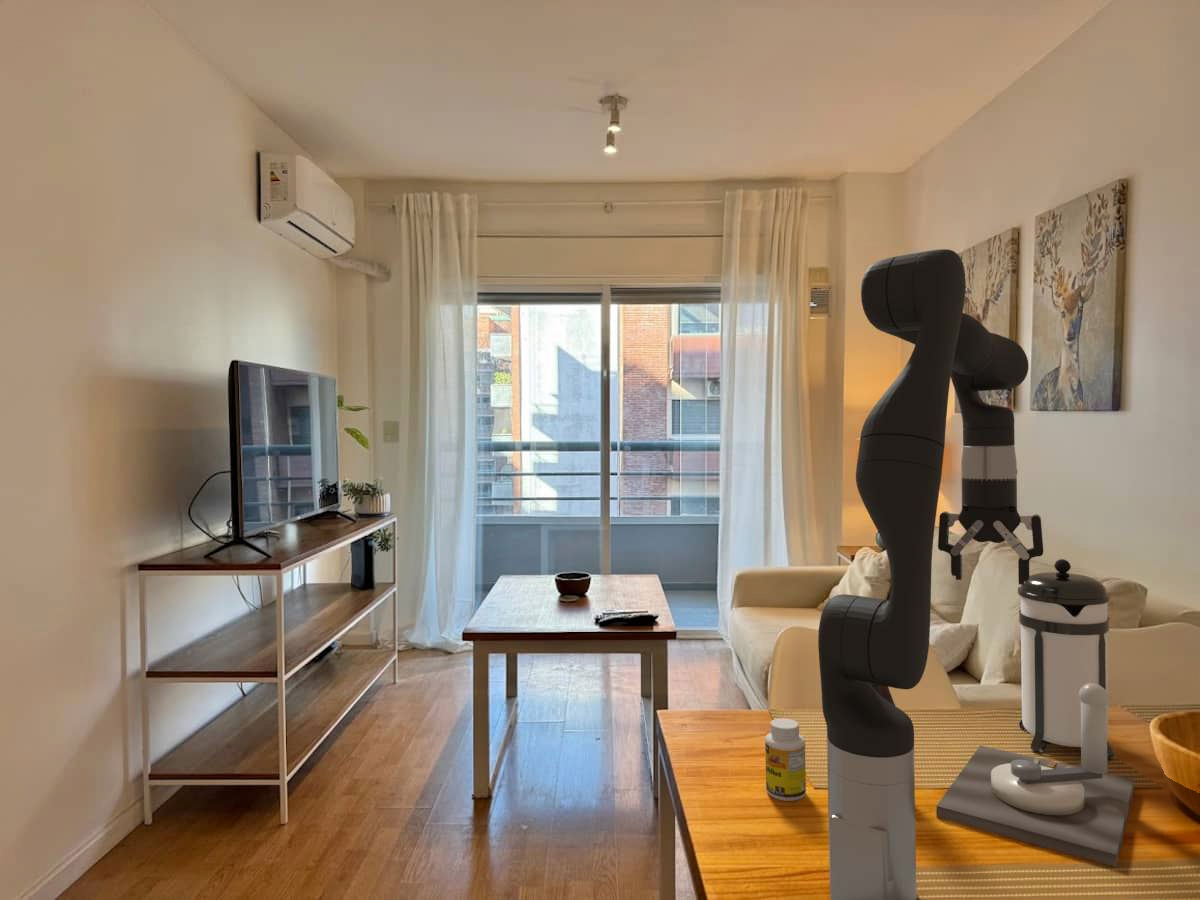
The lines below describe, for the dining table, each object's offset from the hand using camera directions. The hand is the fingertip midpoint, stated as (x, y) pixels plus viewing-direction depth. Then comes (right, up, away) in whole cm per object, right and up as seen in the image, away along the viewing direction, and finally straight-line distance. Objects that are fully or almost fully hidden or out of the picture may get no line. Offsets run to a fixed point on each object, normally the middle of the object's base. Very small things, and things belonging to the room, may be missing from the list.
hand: (989, 581), depth 118 cm
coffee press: (+16, -28, +9) cm, 33 cm away
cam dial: (+2, -27, -13) cm, 30 cm away
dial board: (+1, -28, -12) cm, 31 cm away
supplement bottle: (-33, -29, -7) cm, 45 cm away
